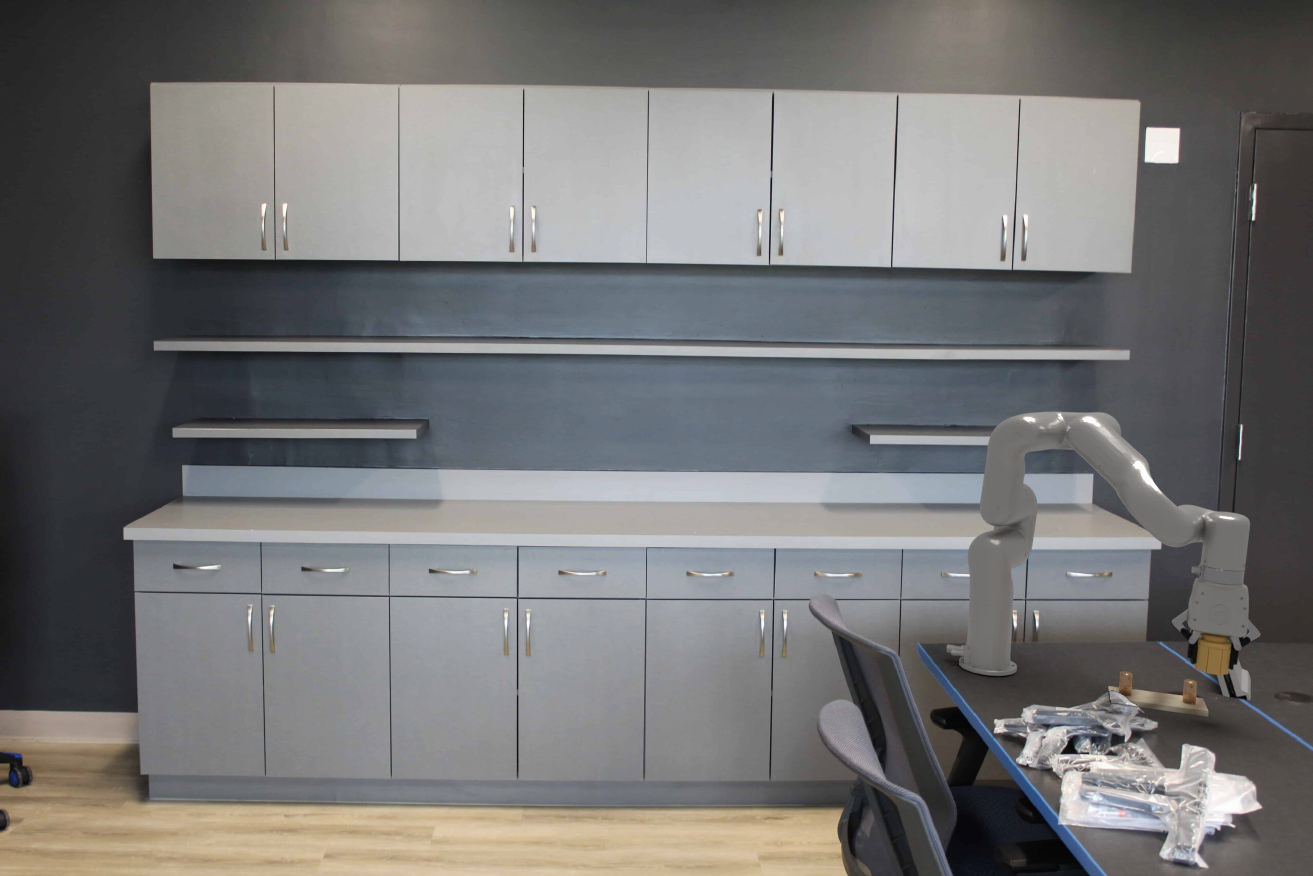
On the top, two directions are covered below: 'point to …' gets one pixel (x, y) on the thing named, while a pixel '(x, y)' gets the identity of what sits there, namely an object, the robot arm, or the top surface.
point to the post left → (1125, 683)
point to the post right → (1189, 691)
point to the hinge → (1236, 682)
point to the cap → (1213, 654)
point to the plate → (1165, 702)
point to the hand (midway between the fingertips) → (1211, 664)
